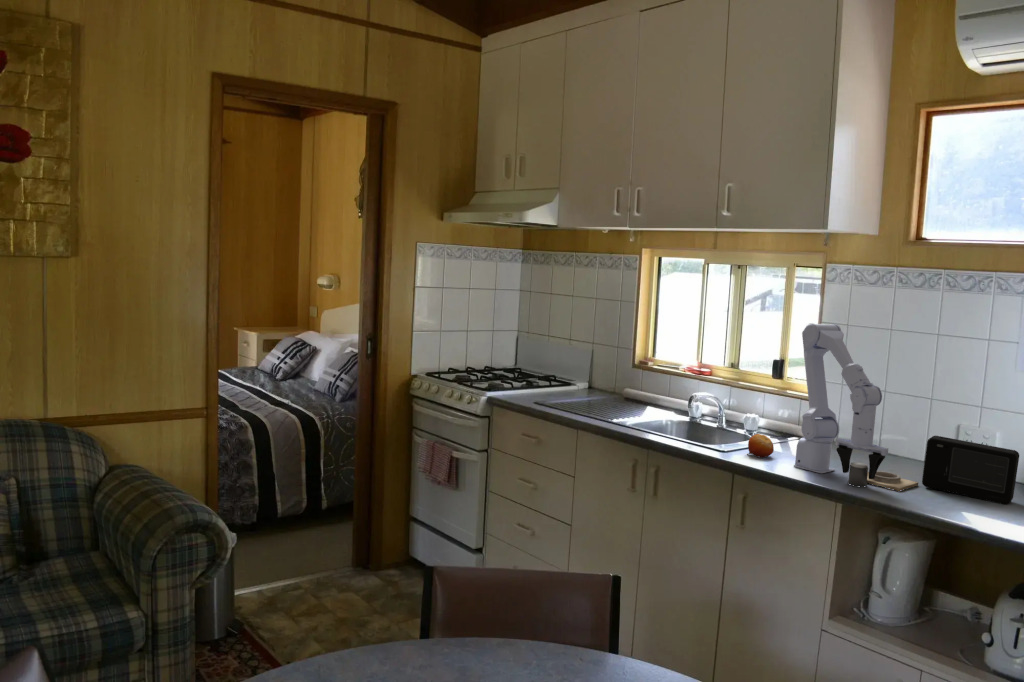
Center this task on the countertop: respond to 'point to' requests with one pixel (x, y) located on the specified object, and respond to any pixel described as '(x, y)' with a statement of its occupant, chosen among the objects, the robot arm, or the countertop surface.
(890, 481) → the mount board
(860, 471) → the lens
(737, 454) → the countertop surface
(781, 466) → the countertop surface
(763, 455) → the fruit
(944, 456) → the black box
